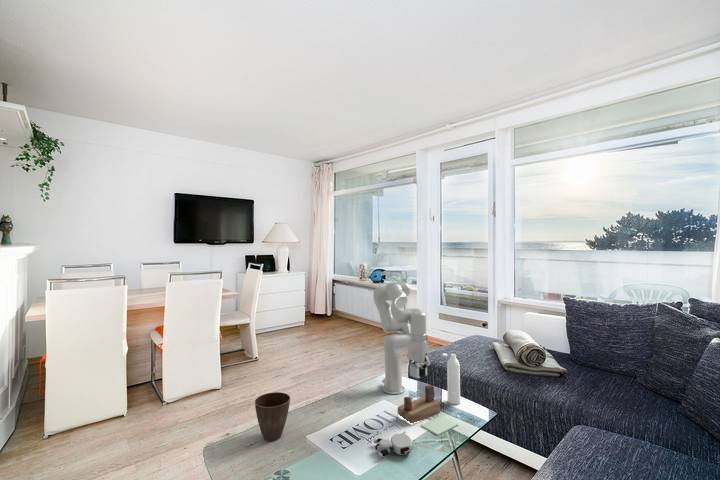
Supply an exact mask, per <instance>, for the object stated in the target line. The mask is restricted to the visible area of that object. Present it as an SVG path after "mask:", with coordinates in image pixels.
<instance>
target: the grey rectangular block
mask: <svg viewBox="0 0 720 480" xmlns="http://www.w3.org/2000/svg"><path fill="white" fill-rule="evenodd" d="M423 365H424V364H423ZM420 369H421V366H420V363H418V362H416V363H415V364H412V365H411V364H409V376H410V377H413V378H415V379H420V378H422V377H420ZM426 376H428V367H427V368H426Z"/></svg>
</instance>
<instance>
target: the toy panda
mask: <svg viewBox="0 0 720 480" xmlns="http://www.w3.org/2000/svg"><path fill="white" fill-rule="evenodd" d="M406 432H407V431H403V432H401V433H395V434H393V435H392V436H391V437H390V439H389V438H387V439H386V438H385V439H383V438H377V439H376V438H375V439H373V443H374V444H375V446H374V448H375V451H377V453H378V454H377V456H378V457H379V458H381V457H383V458H384V457H386V456H388V454H390V453H392V452H394V453H396V455H400V456H402V455H403V456H405V455H409V454H410V453H412V451H413V450H415V449H416V448H415V447H413V441H412V439H411V437H410V436H409V435H407V434H406Z"/></svg>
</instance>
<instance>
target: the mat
mask: <svg viewBox="0 0 720 480" xmlns="http://www.w3.org/2000/svg"><path fill="white" fill-rule="evenodd" d="M421 426H422V427H421ZM458 426H459V423H457V422H455V421H453V420H451V419H450V418H449V419H448V418H447V417H444V416H443V415H439V416H438V417H434V418H433V419H430V420H428V421H426V422H424V423H422V424H420V427H421V428H423V427H424V428H423V429H425V430H427V431H429V432H430V433H431V434H434V435H435V436H440V435H442V434H444V433H446V432H448V431H450V430H453V429H454V428H456V427H458Z"/></svg>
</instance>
